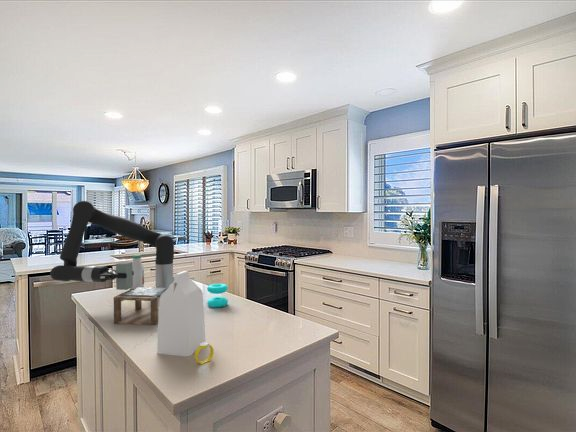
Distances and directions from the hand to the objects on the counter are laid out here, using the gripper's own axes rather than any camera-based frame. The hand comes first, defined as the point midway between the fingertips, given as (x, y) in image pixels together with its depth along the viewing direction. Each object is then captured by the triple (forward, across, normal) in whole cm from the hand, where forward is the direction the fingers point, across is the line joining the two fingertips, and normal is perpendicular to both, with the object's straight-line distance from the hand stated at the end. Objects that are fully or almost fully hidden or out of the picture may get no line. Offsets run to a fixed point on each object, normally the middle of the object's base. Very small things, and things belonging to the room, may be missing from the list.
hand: (129, 274), depth 152 cm
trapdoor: (+10, -8, +9) cm, 16 cm away
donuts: (+38, +12, +18) cm, 44 cm away
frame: (+12, -8, +17) cm, 22 cm away
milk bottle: (-21, +41, +18) cm, 49 cm away
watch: (+52, -47, +17) cm, 72 cm away
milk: (+41, -37, +17) cm, 58 cm away
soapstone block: (-3, 0, +7) cm, 7 cm away
